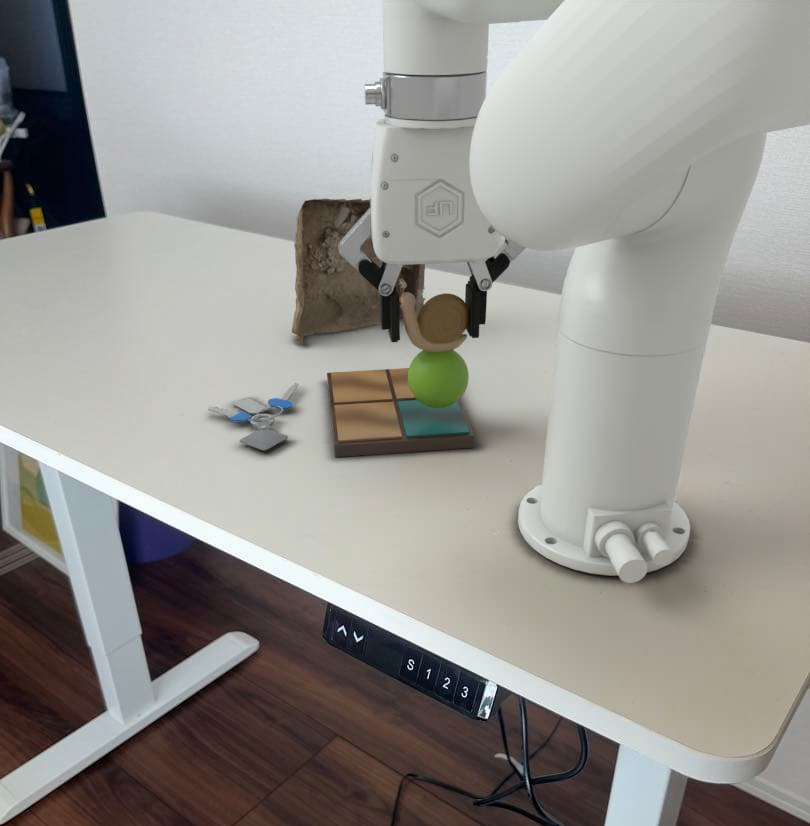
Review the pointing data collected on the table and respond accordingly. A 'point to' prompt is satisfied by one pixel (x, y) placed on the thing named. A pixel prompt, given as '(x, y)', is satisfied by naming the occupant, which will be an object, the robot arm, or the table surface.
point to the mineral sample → (338, 272)
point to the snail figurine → (436, 348)
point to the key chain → (263, 435)
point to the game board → (390, 416)
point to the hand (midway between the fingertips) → (432, 332)
